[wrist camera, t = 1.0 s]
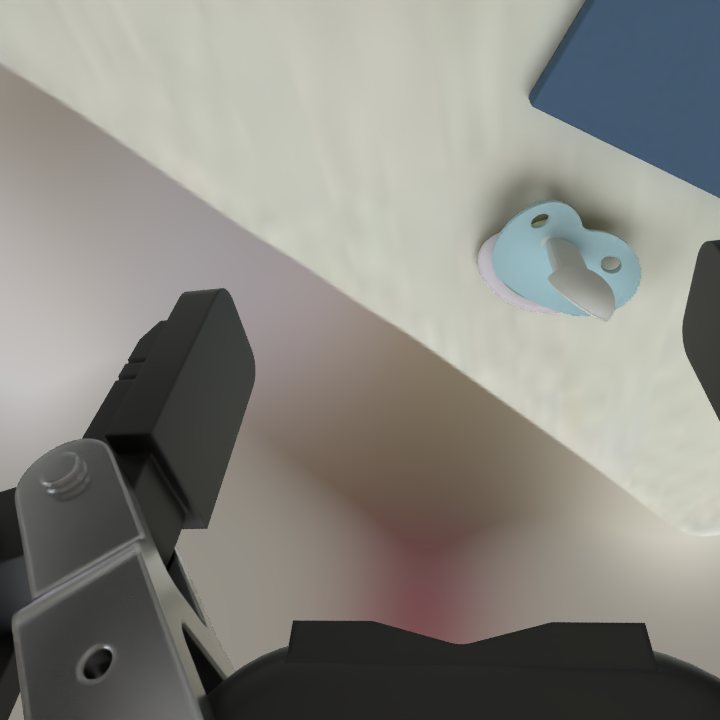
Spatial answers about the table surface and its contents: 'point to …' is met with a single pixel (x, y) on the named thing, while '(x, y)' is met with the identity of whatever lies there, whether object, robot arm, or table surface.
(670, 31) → the blue book
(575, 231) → the pacifier
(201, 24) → the table surface
